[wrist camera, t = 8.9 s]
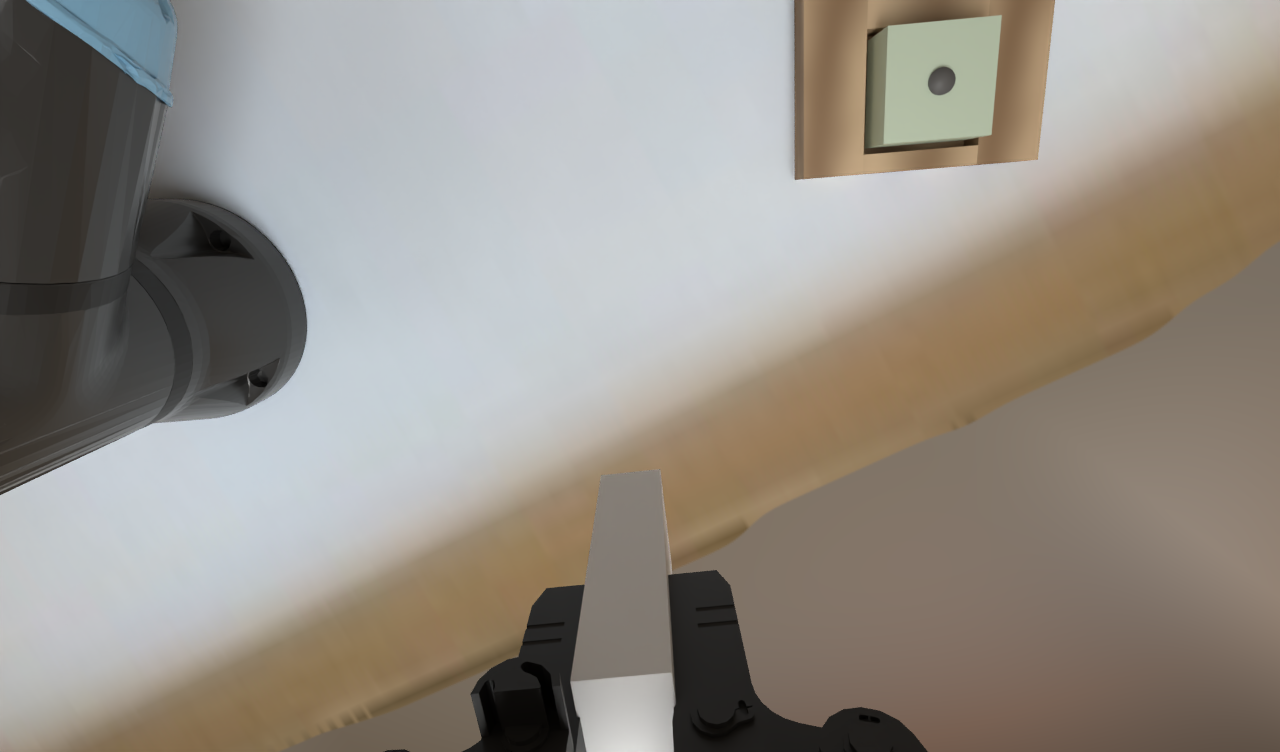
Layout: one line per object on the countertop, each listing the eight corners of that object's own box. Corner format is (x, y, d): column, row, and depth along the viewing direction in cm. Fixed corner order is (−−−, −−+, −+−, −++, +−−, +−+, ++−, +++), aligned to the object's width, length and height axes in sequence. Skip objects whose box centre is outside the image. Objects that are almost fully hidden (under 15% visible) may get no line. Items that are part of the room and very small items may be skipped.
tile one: (864, 148, 37) (884, 143, 34) (867, 40, 35) (889, 24, 32) (963, 140, 36) (993, 134, 33) (971, 31, 35) (1003, 14, 32)
